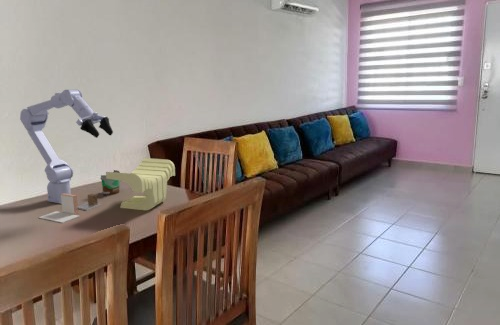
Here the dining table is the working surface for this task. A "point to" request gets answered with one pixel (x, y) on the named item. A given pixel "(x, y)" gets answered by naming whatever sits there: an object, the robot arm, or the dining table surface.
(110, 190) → the food container
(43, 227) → the dining table surface
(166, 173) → the slatted curved stool
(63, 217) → the mat
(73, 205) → the tile
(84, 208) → the turner
